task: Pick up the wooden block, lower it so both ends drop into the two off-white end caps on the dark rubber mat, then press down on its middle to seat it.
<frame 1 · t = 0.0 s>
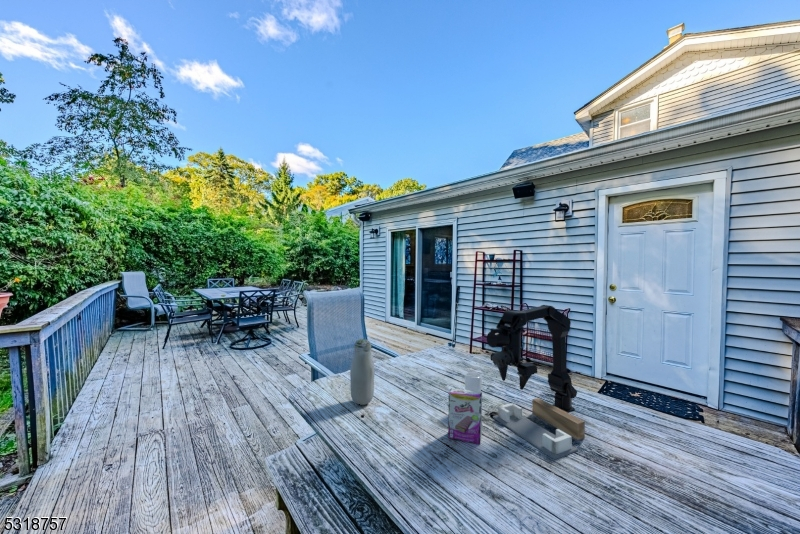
hand: (512, 384, 116), 15 cm above the table, tool pointing down, fingers open, 9 cm apart
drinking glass: (472, 410, 126), on the table
candy bar box: (464, 438, 106), on the table
wooden block: (556, 425, 115), on the table
grey bottle: (362, 403, 133), on the table
end cap frame: (531, 432, 110), on the table
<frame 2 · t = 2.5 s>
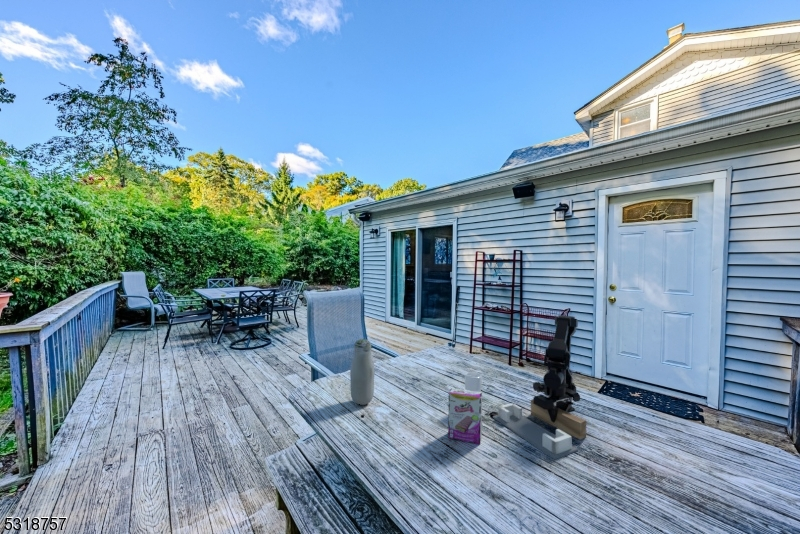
hand: (556, 420, 115), 2 cm above the table, tool pointing down, fingers closed on wooden block, 4 cm apart
wooden block: (556, 425, 115), on the table, touching gripper
everything else where it was.
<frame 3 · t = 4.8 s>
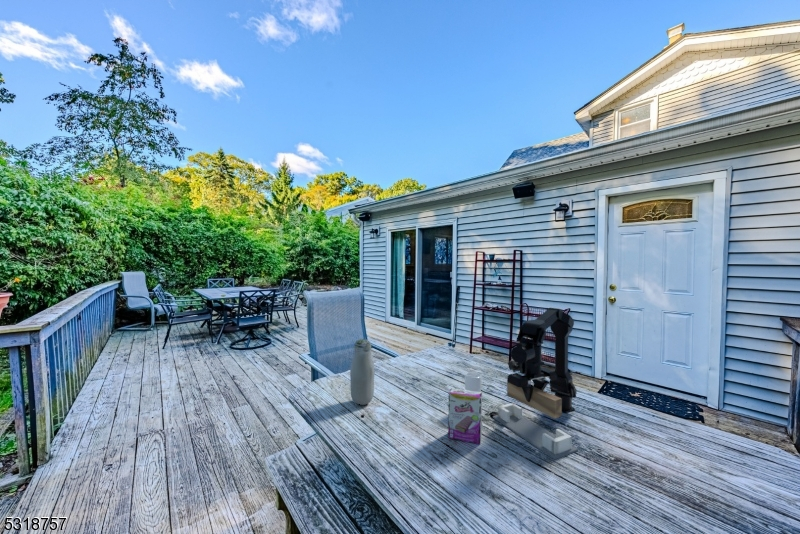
hand: (532, 400, 109), 12 cm above the table, tool pointing down, fingers closed on wooden block, 4 cm apart
wooden block: (532, 405, 109), point 10 cm above the table, touching gripper
everything else where it was.
when the fingers open (3 cm above the table, at t = 6.9 s): wooden block stays where it is, resting on end cap frame.
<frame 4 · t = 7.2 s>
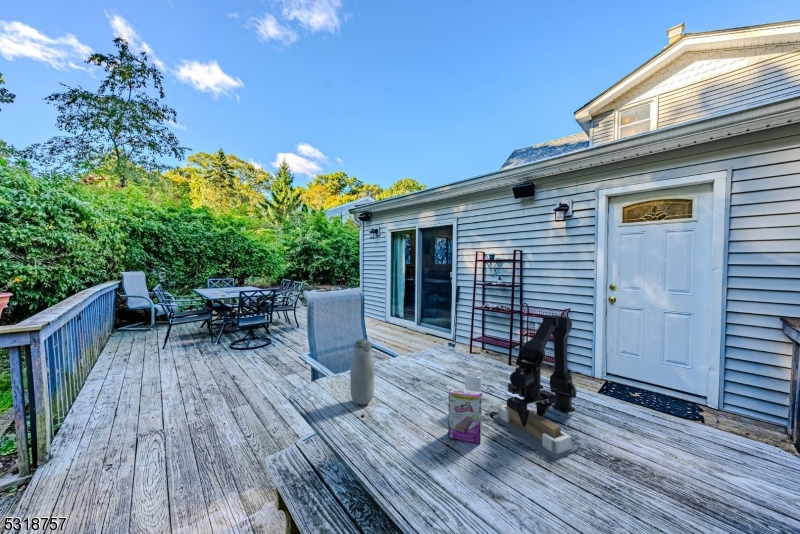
hand: (531, 423, 110), 3 cm above the table, tool pointing down, fingers open, 7 cm apart
wooden block: (531, 431, 110), point 1 cm above the table, touching end cap frame
everything else where it was.
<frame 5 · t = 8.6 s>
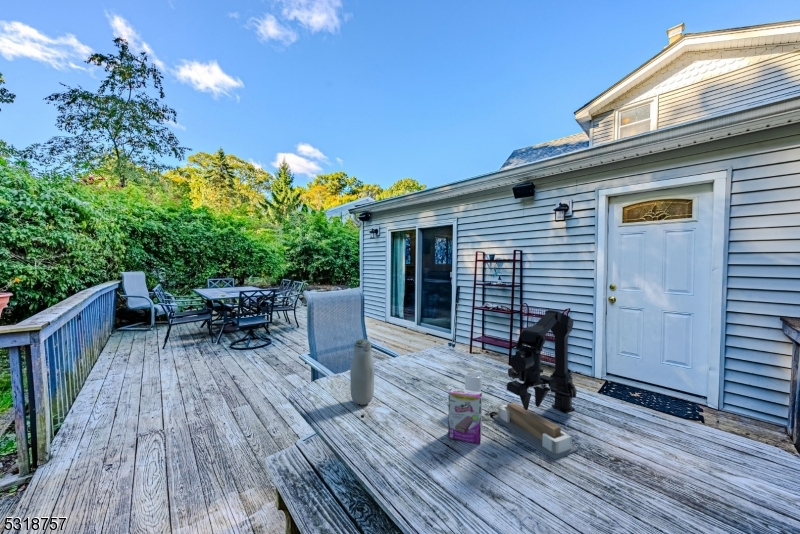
hand: (531, 408, 109), 9 cm above the table, tool pointing down, fingers open, 5 cm apart
nothing on the table moved.
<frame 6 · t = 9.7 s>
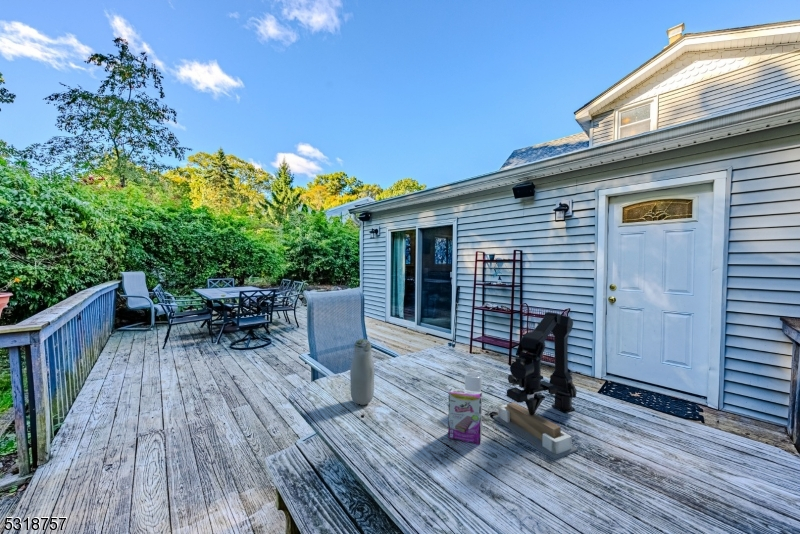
hand: (531, 414, 110), 7 cm above the table, tool pointing down, fingers closed, pressing on wooden block
wooden block: (531, 431, 110), point 1 cm above the table, touching end cap frame, gripper
everything else where it was.
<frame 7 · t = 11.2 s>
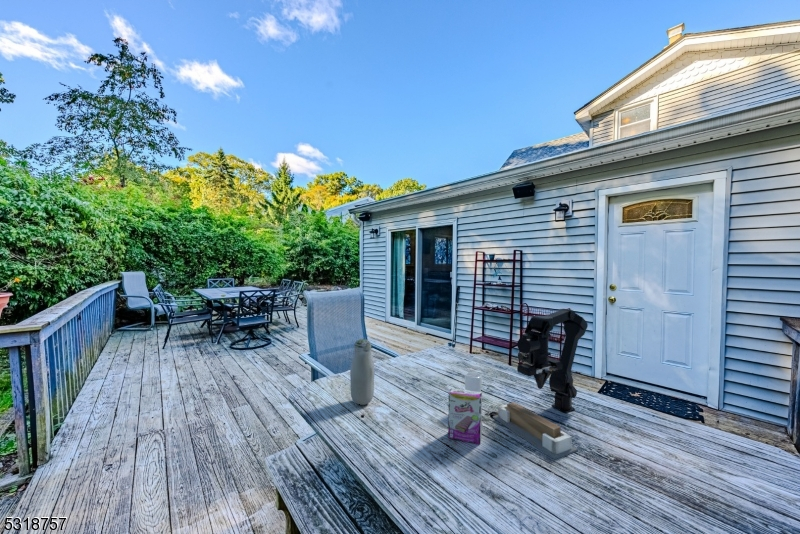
hand: (539, 388, 119), 12 cm above the table, tool pointing down, fingers closed
wooden block: (531, 431, 110), point 1 cm above the table, touching end cap frame
everything else where it was.
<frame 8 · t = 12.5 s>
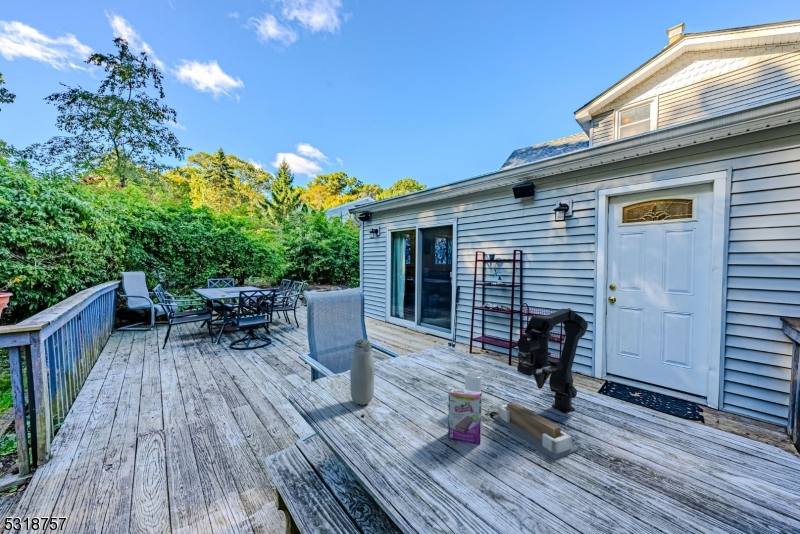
hand: (539, 388, 119), 12 cm above the table, tool pointing down, fingers closed
nothing on the table moved.
at the end: wooden block 0.1 cm off-centre on the end cap frame, point 0.6 cm above the end cap frame's base; wooden block tilted 0°; the gripper is holding nothing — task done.
